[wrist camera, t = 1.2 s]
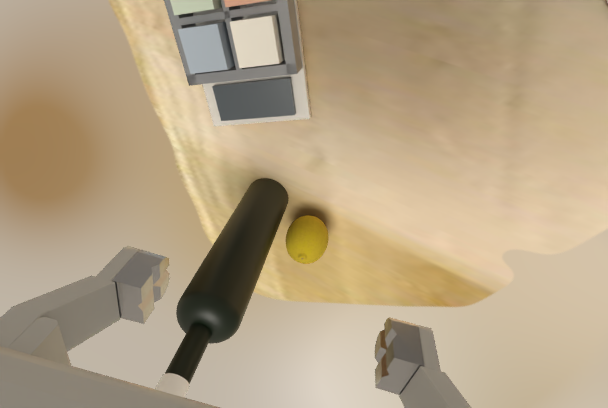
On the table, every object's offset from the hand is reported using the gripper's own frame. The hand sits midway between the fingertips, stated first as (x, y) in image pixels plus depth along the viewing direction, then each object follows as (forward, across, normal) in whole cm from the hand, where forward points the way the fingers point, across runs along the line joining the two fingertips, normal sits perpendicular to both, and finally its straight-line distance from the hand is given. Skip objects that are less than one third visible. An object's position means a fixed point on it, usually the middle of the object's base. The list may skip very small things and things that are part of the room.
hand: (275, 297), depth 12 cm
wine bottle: (+31, +6, +16) cm, 35 cm away
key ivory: (+27, +8, -4) cm, 29 cm away
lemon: (+31, -1, +18) cm, 36 cm away
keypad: (+31, +11, -3) cm, 33 cm away
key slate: (+27, +13, -2) cm, 30 cm away
